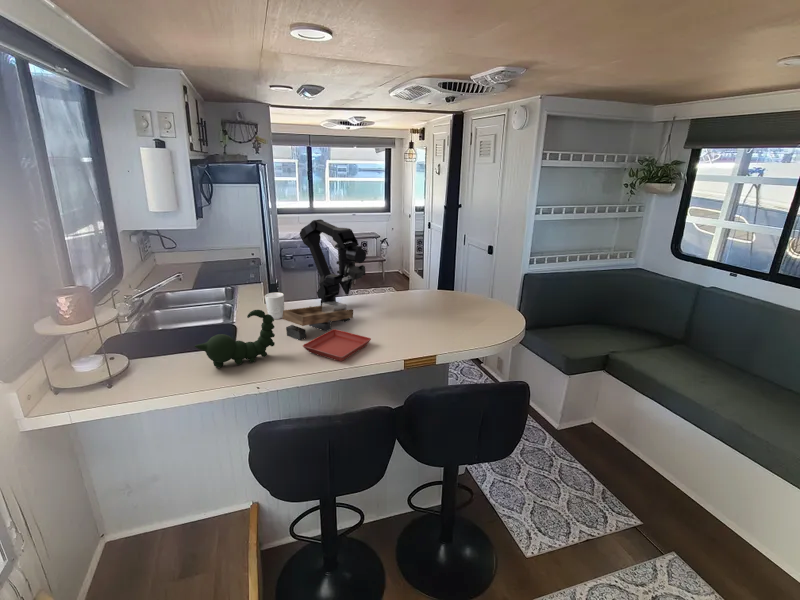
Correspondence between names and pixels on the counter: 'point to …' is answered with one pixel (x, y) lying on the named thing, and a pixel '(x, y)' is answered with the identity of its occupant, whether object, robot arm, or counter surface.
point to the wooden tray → (314, 315)
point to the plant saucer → (337, 344)
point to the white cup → (275, 304)
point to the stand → (301, 333)
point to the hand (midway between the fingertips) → (347, 294)
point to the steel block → (333, 306)
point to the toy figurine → (240, 344)
